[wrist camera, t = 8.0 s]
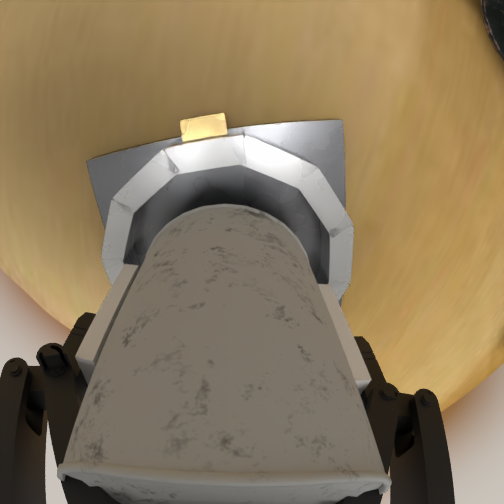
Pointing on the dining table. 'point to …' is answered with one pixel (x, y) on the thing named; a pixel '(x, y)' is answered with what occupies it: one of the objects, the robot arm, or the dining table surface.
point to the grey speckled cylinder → (224, 377)
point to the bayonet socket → (230, 187)
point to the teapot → (494, 23)
